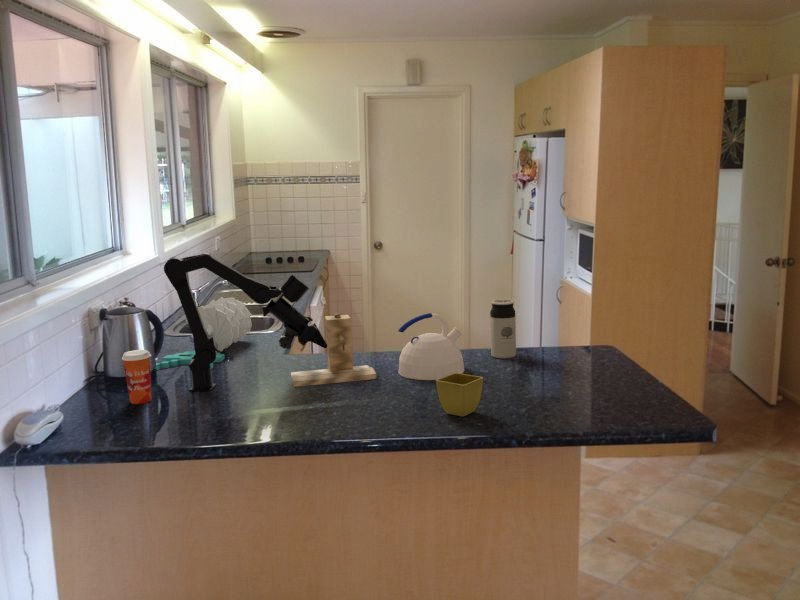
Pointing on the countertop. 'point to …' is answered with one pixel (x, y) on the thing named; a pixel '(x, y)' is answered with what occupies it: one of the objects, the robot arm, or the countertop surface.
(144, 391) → the paper cup
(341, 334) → the tan wooden tall block
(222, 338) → the spiral staircase
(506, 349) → the travel mug
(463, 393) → the flower pot
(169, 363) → the alien figure
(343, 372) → the board
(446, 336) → the kettle
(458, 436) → the countertop surface
